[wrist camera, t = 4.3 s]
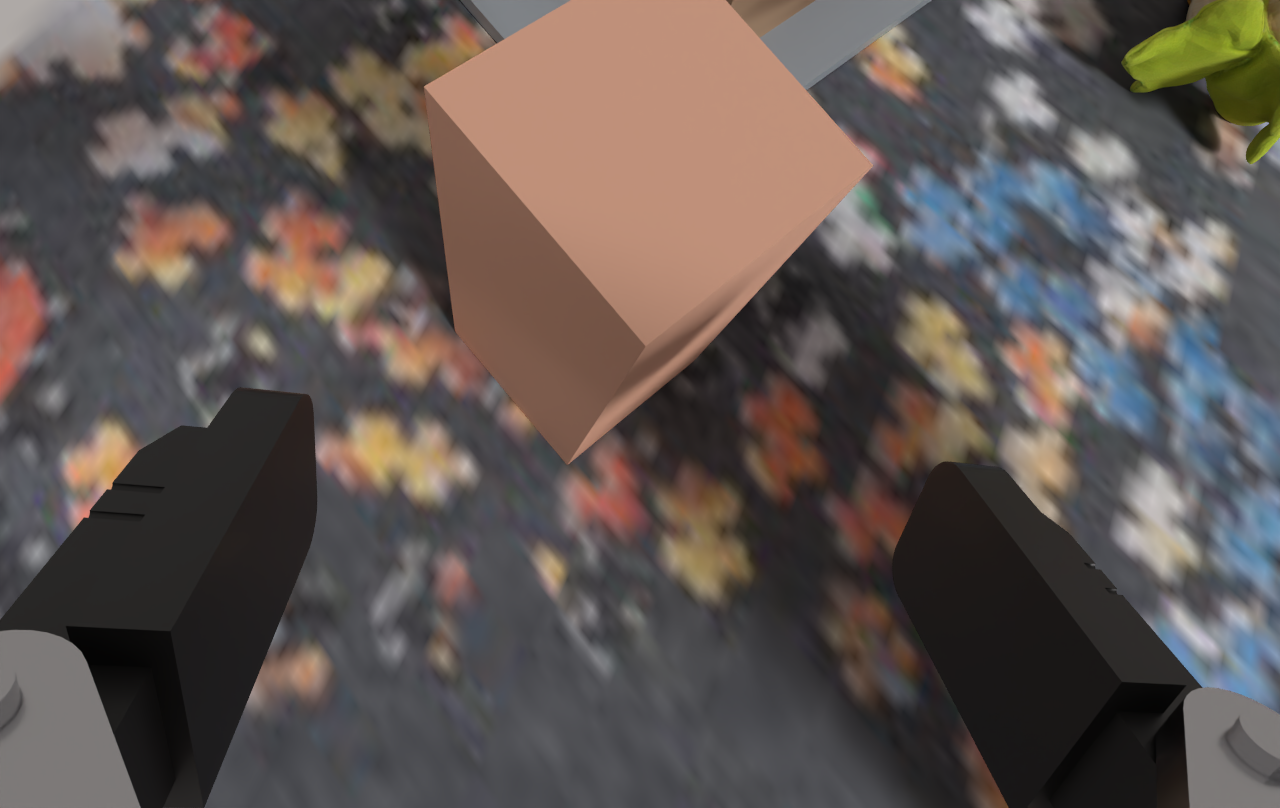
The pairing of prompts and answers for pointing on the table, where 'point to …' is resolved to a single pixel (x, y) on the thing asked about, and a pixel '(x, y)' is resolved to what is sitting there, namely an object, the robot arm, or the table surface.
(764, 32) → the base slab
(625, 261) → the tall block
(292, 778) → the table surface
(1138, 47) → the bird rattle
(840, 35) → the building mat
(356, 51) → the table surface
